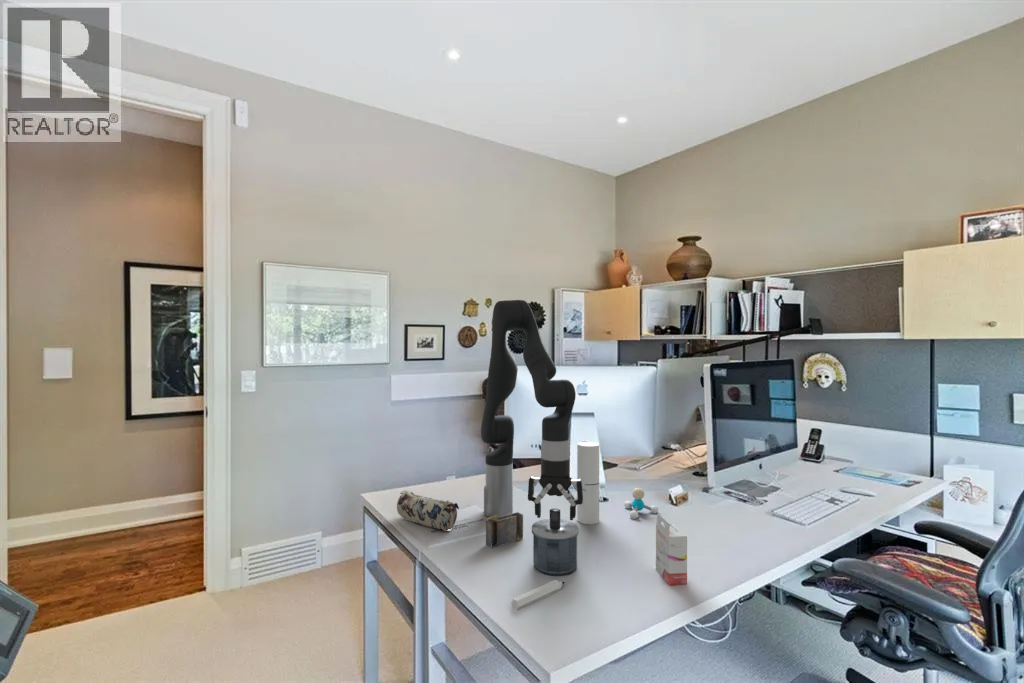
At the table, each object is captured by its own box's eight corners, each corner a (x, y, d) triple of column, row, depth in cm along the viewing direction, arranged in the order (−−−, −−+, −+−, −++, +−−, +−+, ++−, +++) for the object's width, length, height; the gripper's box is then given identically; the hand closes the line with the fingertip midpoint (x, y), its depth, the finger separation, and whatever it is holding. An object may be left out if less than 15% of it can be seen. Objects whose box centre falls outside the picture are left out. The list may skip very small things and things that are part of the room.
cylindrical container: (599, 525, 154) (599, 446, 154) (576, 523, 155) (576, 445, 155) (599, 516, 161) (599, 442, 161) (577, 515, 162) (577, 441, 162)
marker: (566, 589, 116) (515, 612, 106) (560, 581, 118) (510, 604, 107) (570, 581, 115) (519, 604, 105) (564, 574, 117) (514, 596, 106)
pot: (529, 576, 120) (529, 540, 120) (538, 552, 134) (538, 519, 134) (574, 580, 118) (574, 544, 118) (578, 555, 132) (578, 522, 132)
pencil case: (460, 527, 152) (460, 496, 152) (442, 536, 145) (442, 504, 145) (412, 513, 165) (412, 484, 165) (393, 520, 158) (393, 491, 158)
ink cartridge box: (688, 585, 116) (688, 524, 116) (668, 585, 116) (668, 524, 116) (673, 568, 125) (673, 511, 125) (654, 569, 124) (655, 512, 124)
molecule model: (616, 508, 170) (615, 483, 170) (646, 505, 173) (646, 481, 173) (632, 520, 158) (631, 494, 158) (664, 517, 161) (664, 491, 161)
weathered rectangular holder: (491, 550, 136) (491, 516, 136) (486, 546, 139) (486, 513, 139) (523, 540, 143) (523, 508, 143) (518, 537, 145) (518, 505, 145)
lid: (528, 538, 121) (528, 516, 121) (535, 520, 133) (535, 501, 133) (576, 542, 119) (576, 520, 119) (579, 524, 131) (579, 504, 131)
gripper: (526, 458, 124) (526, 521, 124) (581, 461, 121) (581, 525, 121) (530, 451, 131) (530, 511, 131) (583, 454, 128) (583, 515, 128)
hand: (555, 518), depth 126 cm, fingers open, 8 cm apart
